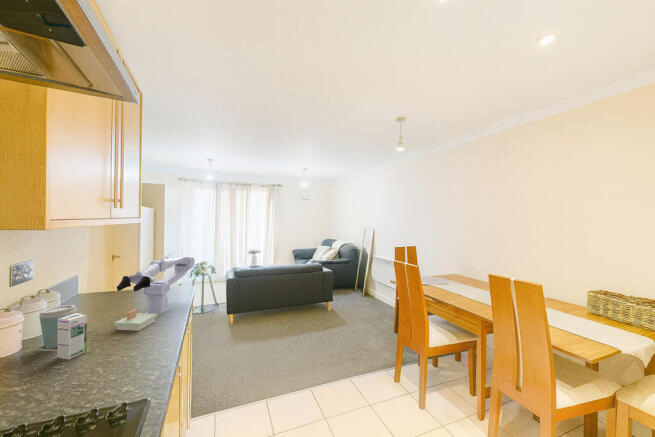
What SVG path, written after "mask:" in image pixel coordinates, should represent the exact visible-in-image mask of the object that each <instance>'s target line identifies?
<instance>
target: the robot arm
mask: <svg viewBox="0 0 655 437" xmlns="http://www.w3.org/2000/svg"><path fill="white" fill-rule="evenodd" d="M194 266H195V257H193V256H176V257H173V258H171V257H168V256H167V257H165V258H162V259H161V258H160V260H151V261H150V264H148V266H147V267H145V268H144V269H142V270H141V271H136V273H135V274H132V275H125V276H122V279H121V281H120V282H119V283H118V285H117V286H116V290H117V292H120V291H122V290H125V289H126V288H129V287H132V284H135V285H134V286H133V288H132V289H133V292H137V291H140V290H143V294H144V296H145V297H146V298H147V310H146V311H145V313H148V314H157V316H159V315H160V314H162V313H164V312H166V311H167V310H169V309H170V308H169V307H168V302H169V301H168V299H169V298H168V296H167V294H168V292H169V291H170V286H171V285H173V284H174V283H176V282H177V281H179V280H180V279H182V278H183V277H185V275H187V273H188V271H189V270H191V269H193V268H194ZM171 268H174V269H173V270H174V271H173V272H171V273H169V274H168V275H166V276H165V277H164V278H162V279H159V280H158V281H157V280H156V278H155V276H157V275H158V274H159V273H160V272H161V273H162V272H164V273H165V272H166V271H167V270H168V269H171ZM131 283H132V284H131Z"/></svg>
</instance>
